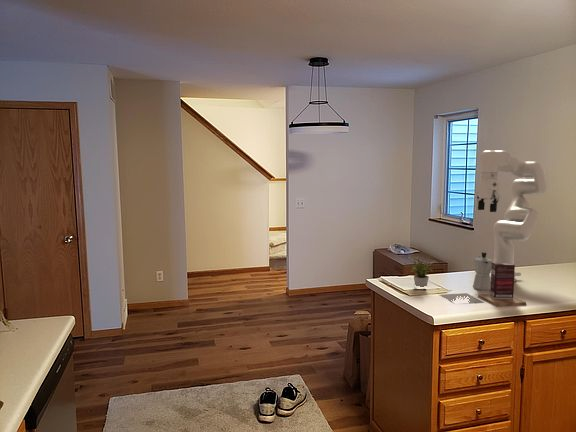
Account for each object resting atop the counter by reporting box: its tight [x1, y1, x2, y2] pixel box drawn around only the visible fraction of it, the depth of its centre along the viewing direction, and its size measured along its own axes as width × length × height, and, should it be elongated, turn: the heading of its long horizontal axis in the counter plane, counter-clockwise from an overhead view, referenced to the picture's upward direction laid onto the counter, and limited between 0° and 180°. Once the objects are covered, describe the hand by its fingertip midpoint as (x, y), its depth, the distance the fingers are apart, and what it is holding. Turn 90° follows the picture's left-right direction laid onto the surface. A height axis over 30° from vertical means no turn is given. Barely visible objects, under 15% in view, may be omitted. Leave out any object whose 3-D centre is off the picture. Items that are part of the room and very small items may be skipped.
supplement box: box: [489, 262, 516, 299], centre depth 196 cm, size 9×5×16 cm, turn 87°
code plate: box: [440, 292, 485, 304], centre depth 200 cm, size 14×14×1 cm
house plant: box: [407, 256, 436, 287], centre depth 215 cm, size 14×14×16 cm
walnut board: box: [477, 293, 527, 308], centre depth 196 cm, size 14×14×1 cm
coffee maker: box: [472, 252, 494, 291], centre depth 216 cm, size 15×9×18 cm, turn 168°
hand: (486, 210), depth 215 cm, fingers open, 9 cm apart
